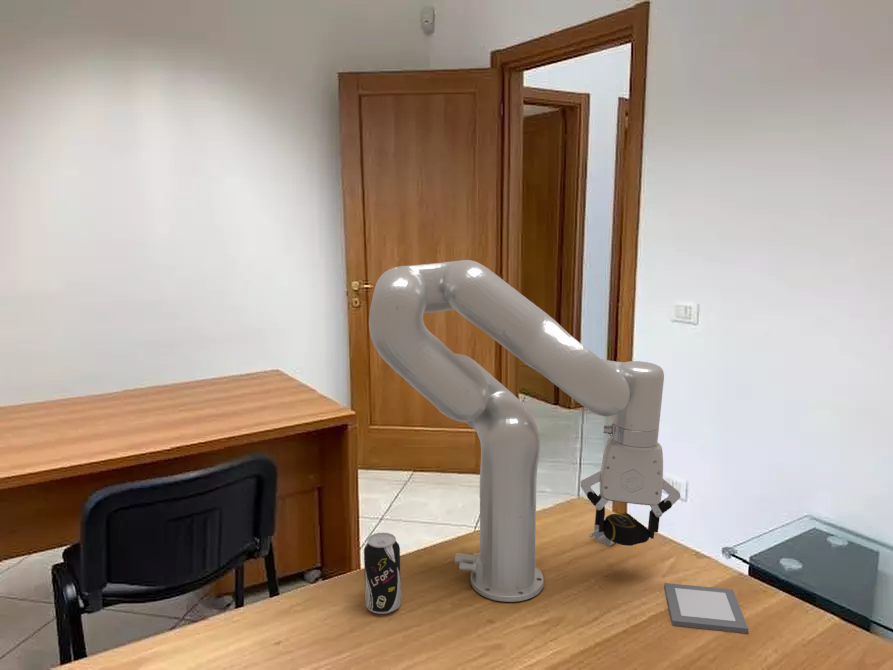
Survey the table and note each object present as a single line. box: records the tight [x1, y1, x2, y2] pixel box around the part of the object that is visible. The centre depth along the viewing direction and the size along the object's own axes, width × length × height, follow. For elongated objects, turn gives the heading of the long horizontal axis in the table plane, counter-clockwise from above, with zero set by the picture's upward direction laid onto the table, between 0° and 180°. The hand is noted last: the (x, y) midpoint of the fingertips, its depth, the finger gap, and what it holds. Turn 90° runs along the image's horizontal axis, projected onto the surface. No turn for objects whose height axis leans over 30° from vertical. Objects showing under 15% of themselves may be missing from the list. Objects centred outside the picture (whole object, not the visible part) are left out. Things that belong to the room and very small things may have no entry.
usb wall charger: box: [589, 516, 615, 547], centre depth 131 cm, size 4×7×4 cm, turn 130°
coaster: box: [663, 582, 749, 634], centre depth 109 cm, size 11×11×1 cm
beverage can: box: [363, 532, 402, 615], centre depth 109 cm, size 6×6×12 cm
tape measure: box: [603, 513, 650, 547], centre depth 118 cm, size 7×7×4 cm
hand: (625, 531), depth 117 cm, fingers closed on tape measure, 7 cm apart
